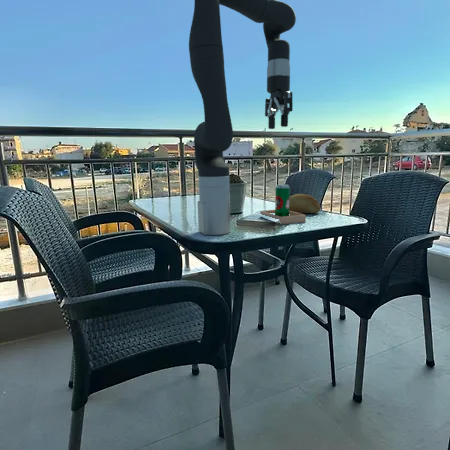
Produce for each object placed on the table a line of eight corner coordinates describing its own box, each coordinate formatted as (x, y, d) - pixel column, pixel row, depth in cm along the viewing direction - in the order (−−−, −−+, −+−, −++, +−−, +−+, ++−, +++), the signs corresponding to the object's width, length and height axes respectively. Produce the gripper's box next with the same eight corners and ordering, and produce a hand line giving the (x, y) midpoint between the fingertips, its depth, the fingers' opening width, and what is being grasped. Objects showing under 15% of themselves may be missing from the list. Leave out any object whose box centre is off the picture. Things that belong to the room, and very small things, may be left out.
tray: (280, 224, 108) (280, 217, 108) (260, 217, 122) (260, 210, 122) (305, 222, 112) (305, 215, 111) (283, 215, 126) (283, 209, 125)
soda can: (289, 219, 114) (289, 185, 111) (274, 219, 115) (275, 185, 112) (289, 217, 119) (290, 184, 116) (275, 216, 120) (275, 184, 117)
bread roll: (322, 215, 123) (322, 195, 122) (282, 215, 126) (282, 195, 124) (318, 211, 133) (319, 192, 131) (281, 211, 135) (282, 192, 133)
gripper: (258, 80, 111) (258, 129, 114) (279, 70, 98) (278, 125, 101) (277, 82, 114) (277, 129, 117) (300, 72, 101) (299, 125, 104)
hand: (277, 127), depth 109 cm, fingers open, 8 cm apart
